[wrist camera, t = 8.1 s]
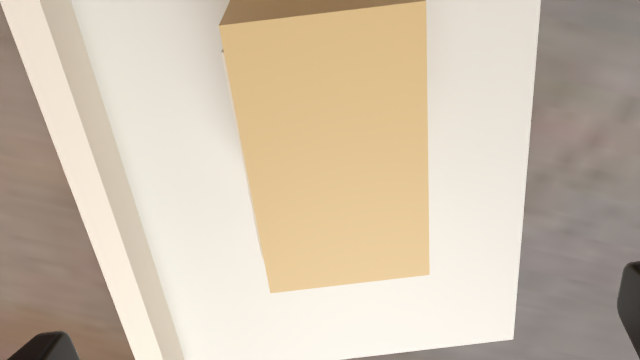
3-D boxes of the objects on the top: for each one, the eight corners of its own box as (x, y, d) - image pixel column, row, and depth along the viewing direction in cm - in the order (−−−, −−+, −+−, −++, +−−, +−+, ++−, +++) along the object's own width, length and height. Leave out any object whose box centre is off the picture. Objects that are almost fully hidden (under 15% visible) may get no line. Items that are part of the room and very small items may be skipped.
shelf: (506, 325, 25) (531, 375, 22) (167, 365, 25) (154, 420, 22) (558, -378, 13) (617, -434, 11) (-60, -299, 14) (-136, -337, 11)
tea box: (389, -34, 16) (426, 0, 12) (398, 187, 20) (429, 274, 16) (231, -15, 16) (211, 26, 12) (270, 201, 20) (265, 294, 16)
